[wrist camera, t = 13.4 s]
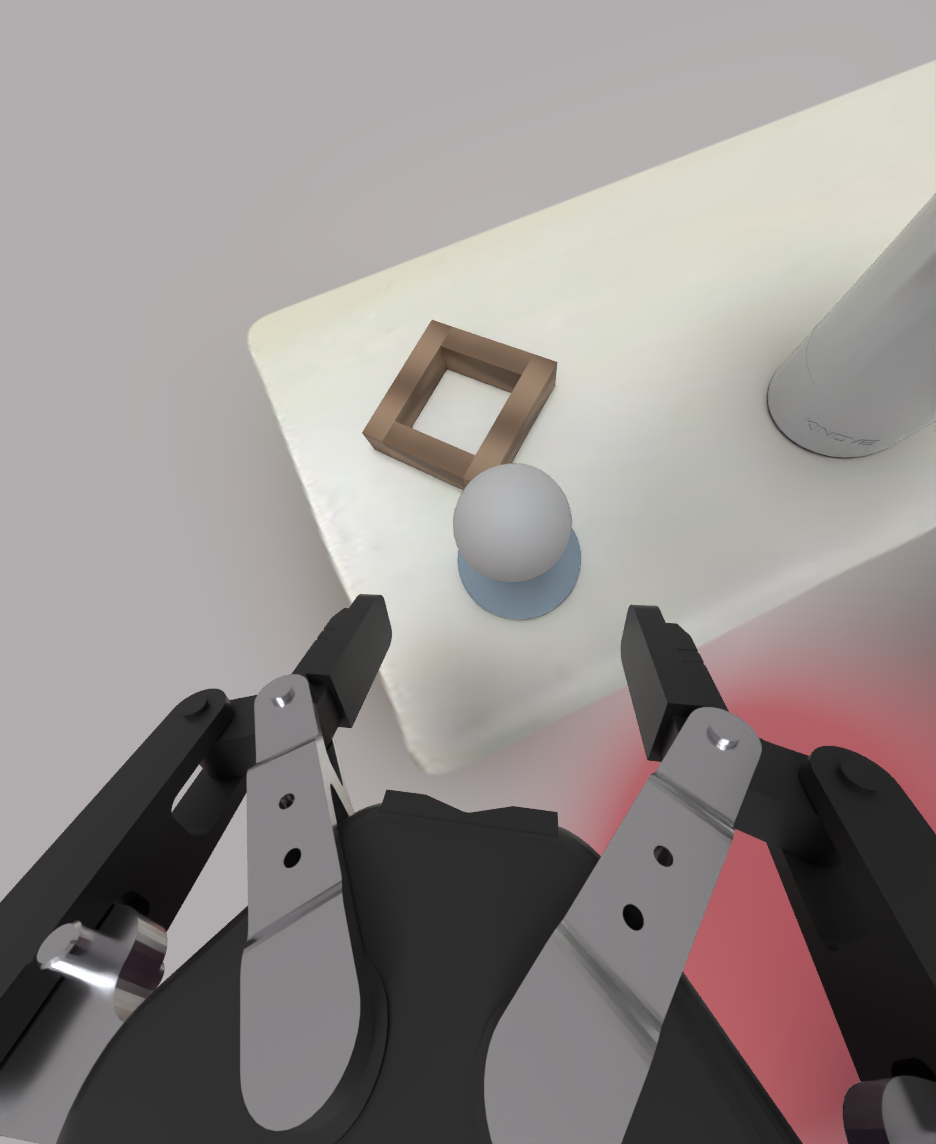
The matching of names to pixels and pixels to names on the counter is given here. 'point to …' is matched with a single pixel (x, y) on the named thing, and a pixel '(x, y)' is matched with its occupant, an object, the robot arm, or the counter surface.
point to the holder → (474, 359)
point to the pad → (525, 587)
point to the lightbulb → (512, 522)
